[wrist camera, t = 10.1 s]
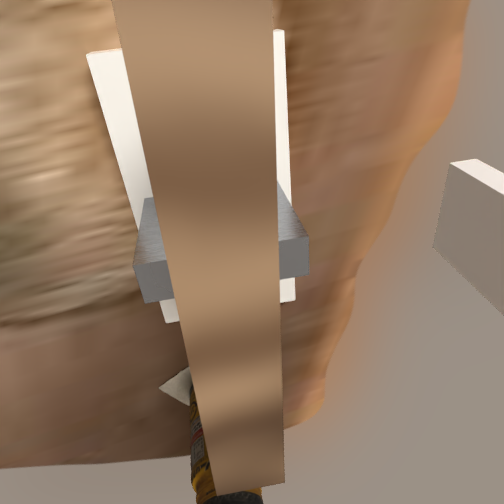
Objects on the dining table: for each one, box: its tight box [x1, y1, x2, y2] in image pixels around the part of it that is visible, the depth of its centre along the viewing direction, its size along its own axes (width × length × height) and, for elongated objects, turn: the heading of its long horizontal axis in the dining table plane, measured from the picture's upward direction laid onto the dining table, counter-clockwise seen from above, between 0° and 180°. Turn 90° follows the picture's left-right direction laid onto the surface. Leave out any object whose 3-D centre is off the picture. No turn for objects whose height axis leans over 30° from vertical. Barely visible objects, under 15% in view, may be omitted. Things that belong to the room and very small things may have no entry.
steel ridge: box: [133, 181, 309, 304], centre depth 23 cm, size 2×9×8 cm, turn 95°
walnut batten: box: [111, 0, 285, 496], centre depth 18 cm, size 24×4×5 cm, turn 3°
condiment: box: [159, 367, 263, 504], centre depth 34 cm, size 7×8×12 cm
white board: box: [86, 29, 295, 323], centre depth 27 cm, size 20×11×2 cm, turn 6°
